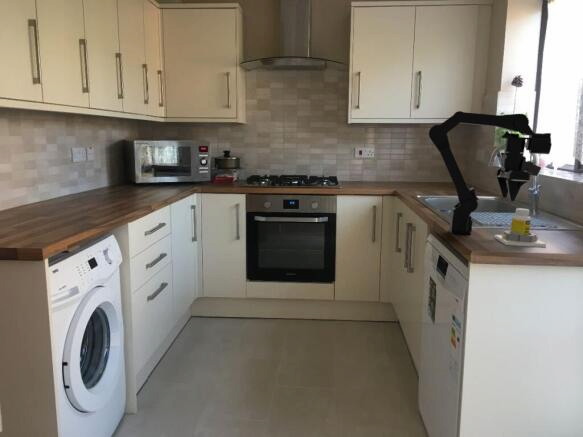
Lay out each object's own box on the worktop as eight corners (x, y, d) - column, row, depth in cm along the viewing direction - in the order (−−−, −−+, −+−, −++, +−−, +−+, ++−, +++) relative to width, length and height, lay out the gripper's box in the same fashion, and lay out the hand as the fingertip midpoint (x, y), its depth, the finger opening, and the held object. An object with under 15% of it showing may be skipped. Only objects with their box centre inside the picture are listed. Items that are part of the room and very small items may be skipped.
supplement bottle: (526, 241, 148) (529, 211, 146) (507, 239, 151) (511, 209, 149) (530, 239, 152) (533, 209, 150) (512, 236, 155) (515, 207, 153)
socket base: (505, 244, 147) (506, 235, 146) (494, 237, 157) (495, 228, 157) (545, 247, 145) (546, 237, 145) (531, 239, 156) (532, 230, 156)
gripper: (550, 154, 145) (543, 204, 148) (530, 153, 163) (524, 197, 166) (512, 153, 146) (506, 202, 149) (496, 151, 165) (491, 195, 167)
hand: (508, 199), depth 158 cm, fingers open, 9 cm apart
